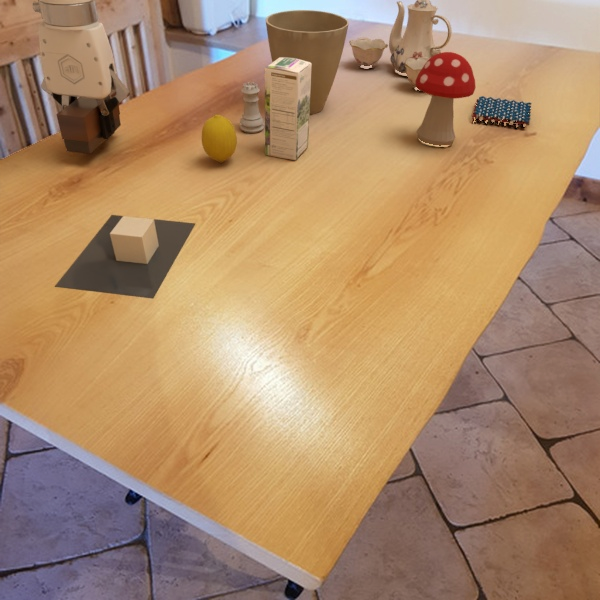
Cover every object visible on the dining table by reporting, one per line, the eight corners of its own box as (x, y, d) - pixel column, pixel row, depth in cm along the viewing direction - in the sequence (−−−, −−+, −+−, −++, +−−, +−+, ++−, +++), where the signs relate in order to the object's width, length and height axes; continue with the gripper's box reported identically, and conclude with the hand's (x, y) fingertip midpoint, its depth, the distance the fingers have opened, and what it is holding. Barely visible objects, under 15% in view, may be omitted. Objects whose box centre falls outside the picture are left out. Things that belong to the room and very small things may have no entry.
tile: (56, 293, 64) (53, 286, 63) (113, 220, 76) (111, 214, 75) (154, 305, 63) (153, 298, 62) (196, 229, 75) (195, 223, 74)
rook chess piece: (238, 124, 102) (236, 80, 96) (262, 123, 102) (261, 79, 97) (241, 134, 98) (238, 89, 93) (265, 133, 99) (264, 88, 94)
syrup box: (278, 142, 96) (277, 55, 87) (309, 148, 95) (312, 60, 85) (264, 155, 92) (262, 66, 83) (297, 161, 91) (298, 71, 81)
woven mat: (475, 103, 112) (477, 93, 110) (529, 111, 109) (532, 101, 108) (469, 123, 104) (471, 112, 103) (527, 131, 101) (530, 120, 100)
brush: (91, 154, 87) (83, 117, 83) (65, 151, 87) (56, 114, 83) (122, 125, 96) (116, 90, 92) (98, 122, 96) (91, 88, 92)
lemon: (214, 173, 87) (210, 124, 82) (198, 160, 90) (192, 112, 85) (244, 164, 90) (241, 116, 84) (227, 151, 93) (223, 105, 88)
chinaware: (335, 73, 129) (334, -5, 118) (382, 51, 137) (386, -23, 125) (430, 107, 114) (440, 22, 102) (478, 82, 121) (492, -1, 109)
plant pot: (266, 122, 102) (264, 30, 92) (267, 94, 114) (266, 9, 103) (346, 123, 103) (353, 31, 93) (339, 94, 114) (344, 10, 104)
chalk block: (116, 260, 67) (109, 233, 65) (129, 242, 70) (123, 215, 68) (147, 264, 67) (141, 236, 64) (159, 245, 70) (154, 219, 67)
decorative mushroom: (469, 140, 98) (490, 52, 88) (452, 157, 93) (471, 65, 83) (418, 127, 102) (432, 41, 92) (398, 143, 97) (411, 53, 87)
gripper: (0, 14, 77) (34, 138, 89) (114, 24, 76) (134, 149, 87) (28, 3, 83) (57, 120, 95) (135, 12, 81) (151, 131, 93)
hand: (94, 133), depth 91 cm, fingers closed on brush, 4 cm apart
